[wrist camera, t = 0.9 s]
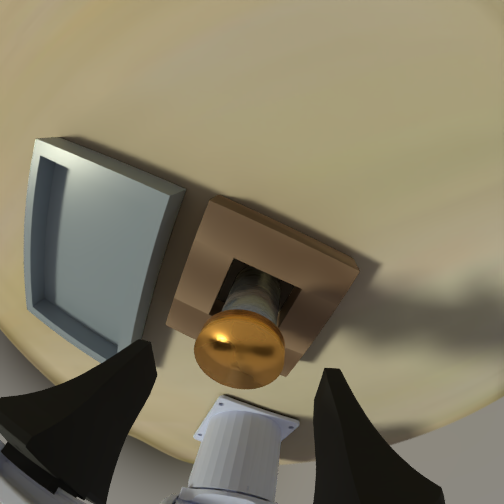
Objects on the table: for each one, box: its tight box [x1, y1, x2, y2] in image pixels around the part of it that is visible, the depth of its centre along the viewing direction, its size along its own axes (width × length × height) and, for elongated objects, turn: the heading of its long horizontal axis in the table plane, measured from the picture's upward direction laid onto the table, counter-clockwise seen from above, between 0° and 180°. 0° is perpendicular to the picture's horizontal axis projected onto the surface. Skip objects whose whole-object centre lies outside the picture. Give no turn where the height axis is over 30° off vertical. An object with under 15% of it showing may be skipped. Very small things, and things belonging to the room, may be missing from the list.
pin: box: [194, 266, 285, 389], centre depth 15 cm, size 4×4×7 cm
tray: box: [24, 137, 186, 363], centre depth 18 cm, size 16×12×2 cm
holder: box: [165, 195, 360, 377], centre depth 17 cm, size 9×9×2 cm
